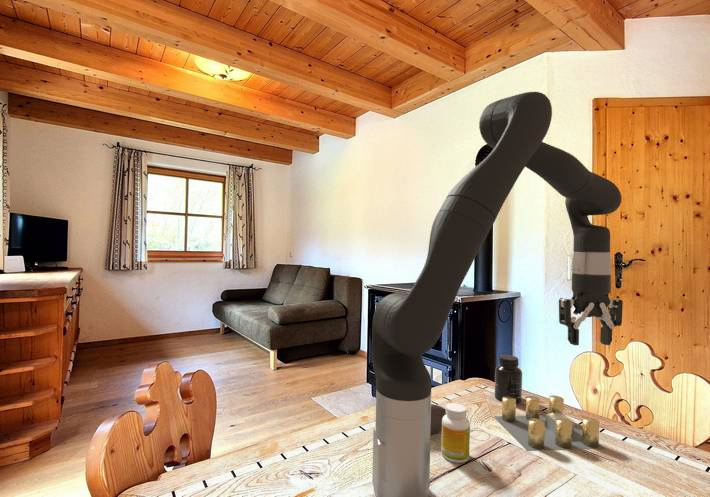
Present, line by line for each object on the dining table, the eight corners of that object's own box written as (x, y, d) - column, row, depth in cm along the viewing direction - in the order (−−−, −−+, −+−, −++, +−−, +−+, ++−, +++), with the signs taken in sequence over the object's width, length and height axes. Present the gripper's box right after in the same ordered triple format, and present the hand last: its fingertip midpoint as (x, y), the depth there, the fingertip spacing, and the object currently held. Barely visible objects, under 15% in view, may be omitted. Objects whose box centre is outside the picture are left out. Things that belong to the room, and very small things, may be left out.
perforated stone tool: (446, 426, 85) (447, 396, 85) (455, 437, 80) (456, 406, 80) (383, 429, 83) (384, 398, 83) (388, 441, 77) (389, 409, 77)
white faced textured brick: (556, 435, 80) (557, 421, 80) (545, 426, 84) (546, 413, 84) (573, 435, 80) (574, 421, 80) (562, 426, 84) (562, 413, 84)
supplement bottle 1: (470, 465, 69) (471, 414, 69) (441, 461, 70) (442, 411, 70) (467, 450, 75) (468, 403, 75) (440, 446, 76) (441, 400, 76)
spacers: (533, 449, 74) (533, 425, 74) (499, 416, 89) (500, 396, 89) (602, 447, 75) (602, 423, 75) (558, 415, 90) (558, 395, 90)
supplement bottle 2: (489, 398, 101) (489, 355, 101) (506, 394, 104) (507, 352, 104) (508, 408, 95) (509, 362, 95) (527, 403, 98) (528, 359, 98)
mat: (498, 454, 73) (498, 451, 73) (469, 419, 88) (469, 416, 88) (605, 451, 75) (605, 448, 75) (559, 417, 90) (559, 414, 90)
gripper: (572, 273, 78) (571, 349, 79) (634, 273, 80) (633, 348, 80) (550, 270, 86) (549, 340, 86) (607, 271, 87) (606, 340, 87)
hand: (589, 344), depth 83 cm, fingers open, 7 cm apart
